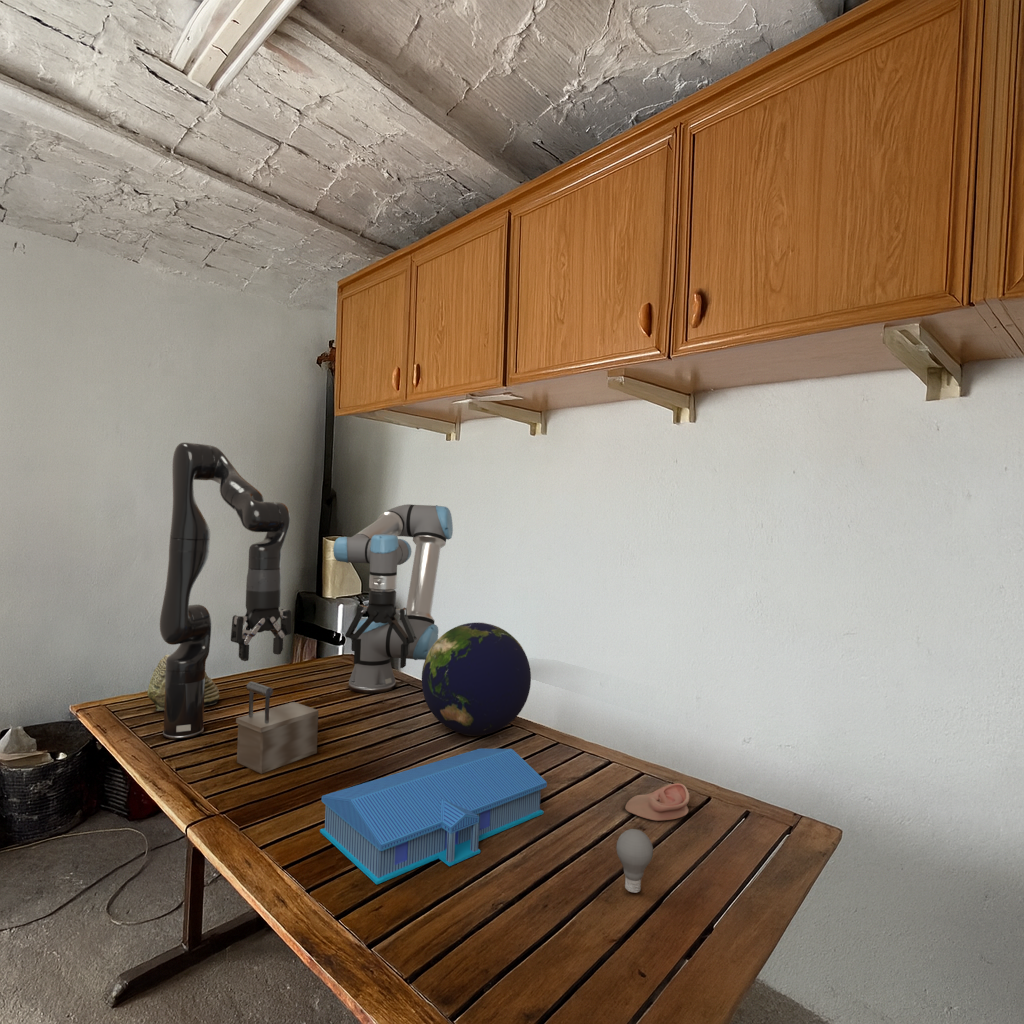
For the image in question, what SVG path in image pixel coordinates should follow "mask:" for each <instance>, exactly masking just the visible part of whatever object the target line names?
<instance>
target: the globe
mask: <svg viewBox="0 0 1024 1024" xmlns="http://www.w3.org/2000/svg"><path fill="white" fill-rule="evenodd" d="M531 683H532V672H531V665H530V662H529V659H528V656H527V654H526V651H525V650H524V648H523V646H522V645H521V643H520V642H519V641H518V640H517V639H516V638H515V637H514V636H513V635H512V634H510V632H508V631H506V630H505V629H503V628H501V627H500V626H497V625H494V624H491V623H486V622H479V621H478V622H467V623H463V624H460V625H457V626H455V627H453V628H451V629H449V630H447V631H446V632H444V633H443V634H442V635H441V636H439V637H438V640H437V641H436V642H435V643H434V644H433V646H432V647H431V649H430V650H429V652H428V654H427V657H426V659H425V660H424V662H423V665H422V671H421V689H422V694H423V697H424V700H425V703H426V705H427V707H428V709H429V711H430V712H431V714H432V715H433V716H434V717H435V719H436V720H437V721H438V722H439V723H441V724H442V726H444V727H446V728H447V729H449V730H451V731H453V732H455V733H457V734H461V735H464V736H470V737H471V736H472V737H475V736H476V737H478V736H487V735H489V734H494V733H495V732H498V731H500V730H502V729H504V728H505V727H507V726H508V725H510V724H511V723H512V722H513V721H514V720H515V719H516V718H517V717H518V716H519V714H520V713H522V710H523V709H524V707H525V705H526V703H527V701H528V698H529V694H530V690H531Z"/></svg>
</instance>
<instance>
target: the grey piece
mask: <svg viewBox="0 0 1024 1024" xmlns="http://www.w3.org/2000/svg"><path fill="white" fill-rule="evenodd" d="M246 690H247V691H248V693H249V694H248V695H249V696H248V699H249V700H248V714H245V715H242V716H239V717H236V718H235V723H236V724H237V725H238V724H240V725H243V726H245V727H248V728H250V729H253V730H255V731H258V732H260V733H262V732H265V731H268V730H271V729H274V728H277V727H281V726H284V725H287V724H290V723H293V722H296V721H300V720H303V719H306V718H309V717H312V716H315V715H318V716H319V710H318V709H316V708H313V707H310V706H308V705H304V704H301V703H300V702H299V703H298V702H295V701H292V702H289V703H285V704H281V705H278V706H274V707H270V701H271V696H272V695H273V693H274V689H273V688H272V687H270V686H267V685H264V684H261V683H258V682H255V681H249V682H248V683H247V684H246ZM254 693H255V694H258V695H260V696H263V697H265V698H264V699H265V700H264V710H260V711H256V712H254Z"/></svg>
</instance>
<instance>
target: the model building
mask: <svg viewBox="0 0 1024 1024" xmlns="http://www.w3.org/2000/svg"><path fill="white" fill-rule="evenodd" d="M547 786H548V781H546V780H545V779H544V778H543V777H542V776H541V775H540V774H539V773H538V772H537V771H536V770H535V769H534V768H533V767H532V766H531V765H529V763H528V762H527V761H526V760H524V758H523V757H521V755H520V754H519V753H518V752H516V751H515V750H514V749H513V748H482V747H481V748H480V747H479V748H477V749H474V750H471V751H467V752H464V753H460V754H457V755H454V756H449V757H447V758H444V759H440V760H437V761H434V762H430V763H427V764H423V765H420V766H416V767H413V768H410V769H407V770H403V771H400V772H397V773H393V774H390V775H387V776H384V777H379V778H377V779H374V780H370V781H366V782H363V783H360V784H356V785H354V786H350V787H347V788H344V789H339V790H337V791H333V792H330V793H327V794H323V795H321V802H322V803H323V804H324V805H325V810H324V811H325V813H324V828H321V829H319V833H320V834H321V835H322V836H323V837H324V838H326V839H327V840H328V842H330V843H331V844H332V845H333V846H334V847H336V848H337V850H338V851H340V852H341V853H342V854H343V855H344V856H345V857H346V858H347V859H348V860H349V861H351V863H352V864H354V865H355V866H356V867H357V868H358V869H359V870H360V871H361V872H362V873H363V874H364V875H365V876H367V877H368V878H369V879H370V880H371V881H372V882H373V883H374V884H375V885H381V884H382V883H384V882H387V881H389V880H391V879H394V878H397V877H398V876H401V875H404V874H405V873H408V872H410V871H412V870H415V869H417V868H419V867H422V866H424V865H427V864H429V863H431V862H434V861H436V860H440V861H441V862H442V863H444V864H445V865H447V866H448V867H452V866H455V865H456V864H458V863H461V862H463V861H465V860H467V859H470V858H473V857H474V856H477V855H479V854H481V849H480V848H479V842H481V841H483V840H486V839H487V838H490V837H492V836H495V835H497V834H499V833H502V832H504V831H506V830H509V829H511V828H513V827H516V826H518V825H520V824H523V823H525V822H527V821H530V820H532V819H534V818H537V817H539V816H542V815H544V813H545V811H544V810H542V809H541V792H542V791H541V790H544V789H546V788H547Z"/></svg>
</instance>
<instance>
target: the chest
mask: <svg viewBox="0 0 1024 1024" xmlns="http://www.w3.org/2000/svg"><path fill="white" fill-rule="evenodd" d="M318 730H319V714H318V715H315V716H312V717H309V718H306V719H303V720H300V721H296V722H293V723H290V724H287V725H284V726H281V727H277V728H274V729H271V730H268V731H265V732H262V733H260V732H258V731H255V730H253V729H250V728H248V727H245V726H243V725H240V724H238V723H237V742H236V743H237V744H236V746H237V747H236V763H237V764H239V765H241V766H244V768H245V767H246V768H247V769H250V770H252V771H254V772H256V773H259V774H261V775H262V774H265V773H268V772H270V771H273V770H276V769H278V768H280V767H284V766H287V765H288V764H292V763H294V762H297V761H299V760H302V759H304V758H308V757H310V756H313V755H316V754H317V753H318V733H319V731H318Z"/></svg>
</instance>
